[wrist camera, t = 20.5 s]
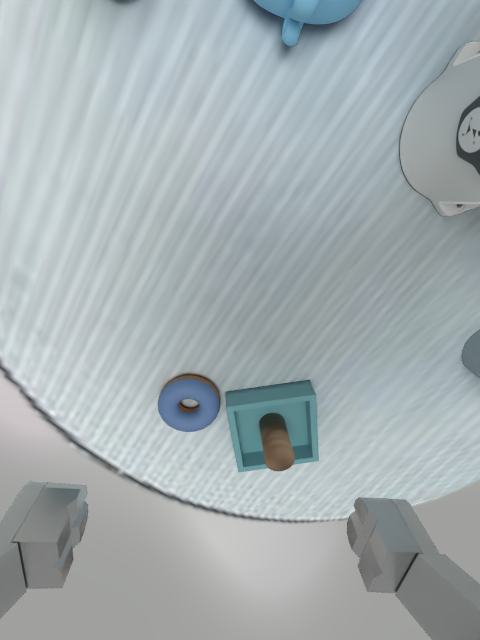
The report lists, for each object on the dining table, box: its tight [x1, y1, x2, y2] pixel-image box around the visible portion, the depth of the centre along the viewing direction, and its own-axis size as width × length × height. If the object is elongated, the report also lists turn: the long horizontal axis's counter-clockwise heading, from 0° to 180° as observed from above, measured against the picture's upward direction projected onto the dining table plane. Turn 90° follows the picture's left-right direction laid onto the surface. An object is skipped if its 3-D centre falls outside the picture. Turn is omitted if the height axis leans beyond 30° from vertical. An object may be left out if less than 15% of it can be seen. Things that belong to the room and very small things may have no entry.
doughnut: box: [158, 375, 220, 432], centre depth 51 cm, size 10×10×5 cm
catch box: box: [226, 380, 319, 472], centre depth 54 cm, size 14×14×4 cm
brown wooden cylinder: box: [259, 413, 295, 471], centre depth 51 cm, size 4×4×8 cm
